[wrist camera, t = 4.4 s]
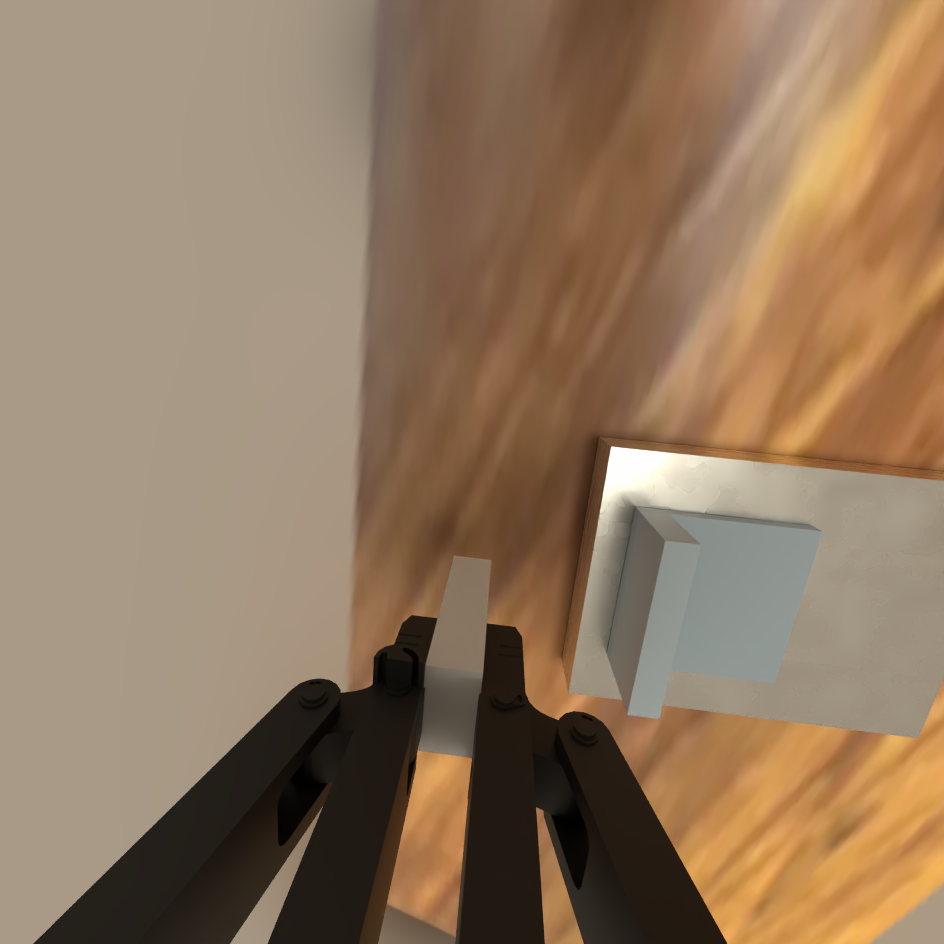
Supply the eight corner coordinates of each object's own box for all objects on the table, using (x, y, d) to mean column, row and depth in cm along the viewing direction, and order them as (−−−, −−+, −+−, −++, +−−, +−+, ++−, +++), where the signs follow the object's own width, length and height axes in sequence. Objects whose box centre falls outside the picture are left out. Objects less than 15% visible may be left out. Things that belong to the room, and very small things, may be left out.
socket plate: (599, 436, 21) (611, 446, 18) (961, 473, 20) (1024, 489, 17) (562, 658, 24) (568, 693, 21) (874, 698, 23) (917, 738, 20)
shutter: (635, 506, 19) (665, 540, 15) (812, 525, 18) (884, 565, 15) (606, 654, 20) (627, 714, 17) (767, 674, 20) (821, 740, 17)
